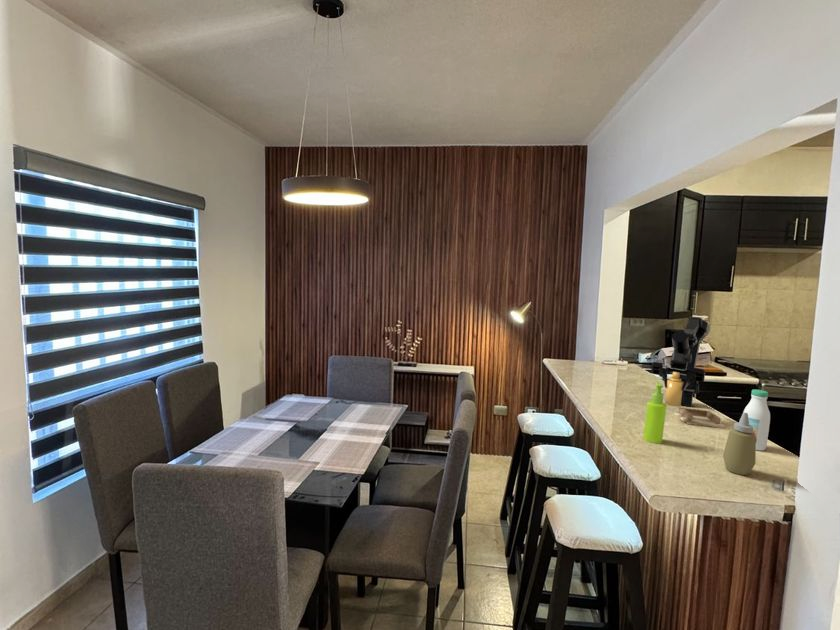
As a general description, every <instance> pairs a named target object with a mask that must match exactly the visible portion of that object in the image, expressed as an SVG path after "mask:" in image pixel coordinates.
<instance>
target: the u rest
mask: <svg viewBox="0 0 840 630" xmlns="http://www.w3.org/2000/svg"><path fill="white" fill-rule="evenodd" d="M678 409H679V410H678V411H674V415H676V416H677V417H678V418H679V417H680V419H681V421H683V422H684V423H685V422H686V423H685V424H687V425H691V424H694V425H693V426H700V425H703V426H704V427H709V426H712V427H713V428H718V427H720V429H727V426H726V425H725V424H723V423H721V419H722V418H721V417H720V416H718V415H716V413H713V412H712V411H711V410H706V409H698V408H697V409H696V408H687V407H678ZM703 426H702V427H703ZM712 427H711V428H712Z"/></svg>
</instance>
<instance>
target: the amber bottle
mask: <svg viewBox="0 0 840 630" xmlns="http://www.w3.org/2000/svg"><path fill="white" fill-rule="evenodd" d="M679 376H680V373H679V372H673V373H672V376H671V377H669V378H667V387H666V388H665V399H664V404H665V405H666V406H667V405H668V406H671V407H681V398H682V388H683V381H681V379H680V378H679Z"/></svg>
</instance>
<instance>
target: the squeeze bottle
mask: <svg viewBox="0 0 840 630" xmlns="http://www.w3.org/2000/svg"><path fill="white" fill-rule="evenodd" d="M752 432H753V426H751V425H749V419H748V413H743V412H742V414H741V417H740V418H739V422H734V424H733V428H732V429H730V430H729V432H728V435H727V439H726V443H725V446H724V450H723V453H722V457H723V461H724V462H723V463H724V466H725V469H726V470H727V471H728V472H730V473H731V472H732V473H734V474H735V475H736V474H737V475H741V476H742V475H743V476H746V475H749V474H750V473H751V472H752V471H753V469H754V467H755V465H756V452H757V450H756V436H755V435H754V434H753V433H752Z"/></svg>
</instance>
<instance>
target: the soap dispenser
mask: <svg viewBox="0 0 840 630" xmlns="http://www.w3.org/2000/svg"><path fill="white" fill-rule="evenodd" d="M654 385H655V391H653V392H652V394H651V395H652V396H651V400H650V401H646V412H645V420H644V428H643V437H642V439H643V440H644V441H646V442H648V443H650V444H651V443H652V444H662V443H663V435H664V428H665V427H664V426H665V418H666V413H667V404H665V403H664V401H663V400H664V394H663V392H662V388H663V387H664V386H663V383H660V382H654Z"/></svg>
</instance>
